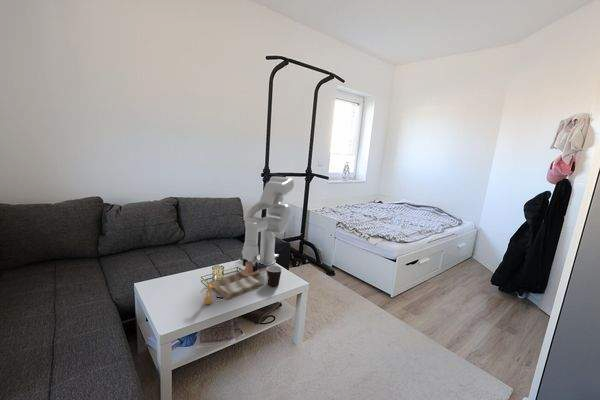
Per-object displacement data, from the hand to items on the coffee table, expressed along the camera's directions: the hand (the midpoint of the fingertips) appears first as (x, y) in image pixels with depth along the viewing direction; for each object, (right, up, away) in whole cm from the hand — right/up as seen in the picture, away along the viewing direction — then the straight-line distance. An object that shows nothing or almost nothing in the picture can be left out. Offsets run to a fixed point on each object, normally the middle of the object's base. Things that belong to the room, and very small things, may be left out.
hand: (250, 268), depth 167 cm
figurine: (-15, -10, -32) cm, 36 cm away
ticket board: (-6, -7, -12) cm, 15 cm away
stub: (0, -3, +1) cm, 3 cm away
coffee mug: (+15, -8, -6) cm, 17 cm away
